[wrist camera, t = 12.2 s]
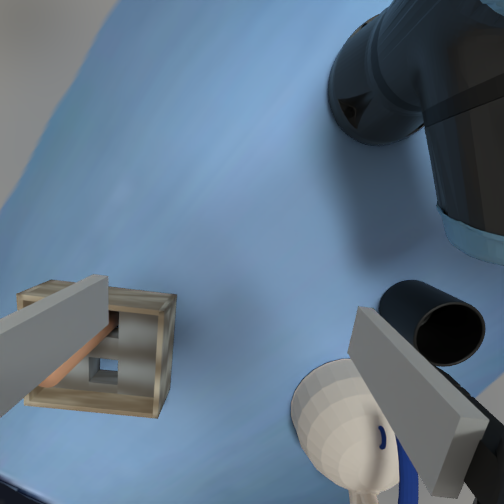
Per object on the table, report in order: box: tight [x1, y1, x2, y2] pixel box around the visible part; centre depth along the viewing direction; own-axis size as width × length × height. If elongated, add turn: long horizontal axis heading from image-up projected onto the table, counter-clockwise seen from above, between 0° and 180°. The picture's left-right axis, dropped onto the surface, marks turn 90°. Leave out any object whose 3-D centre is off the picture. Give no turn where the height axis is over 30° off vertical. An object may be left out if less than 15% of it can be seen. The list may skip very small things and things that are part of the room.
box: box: [16, 280, 177, 419], centre depth 39 cm, size 18×20×6 cm
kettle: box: [291, 359, 418, 504], centre depth 36 cm, size 20×21×18 cm
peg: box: [38, 310, 119, 388], centre depth 34 cm, size 3×3×14 cm
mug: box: [380, 280, 485, 367], centre depth 37 cm, size 9×12×9 cm
